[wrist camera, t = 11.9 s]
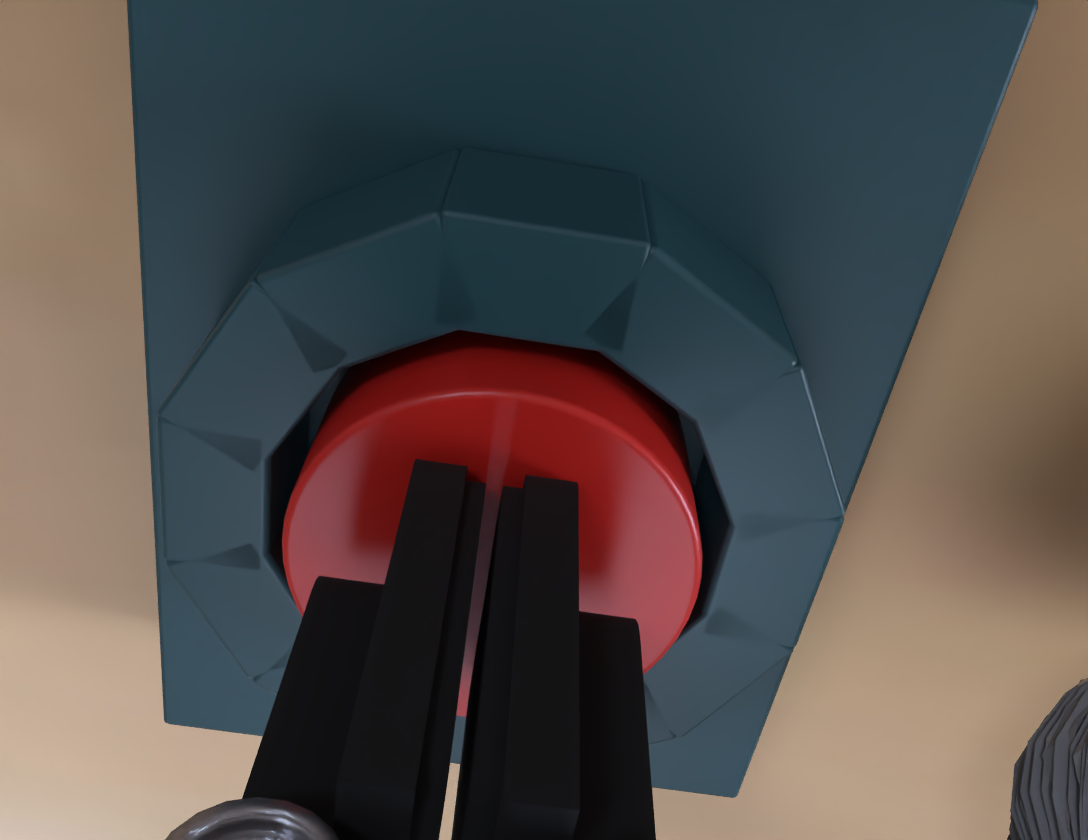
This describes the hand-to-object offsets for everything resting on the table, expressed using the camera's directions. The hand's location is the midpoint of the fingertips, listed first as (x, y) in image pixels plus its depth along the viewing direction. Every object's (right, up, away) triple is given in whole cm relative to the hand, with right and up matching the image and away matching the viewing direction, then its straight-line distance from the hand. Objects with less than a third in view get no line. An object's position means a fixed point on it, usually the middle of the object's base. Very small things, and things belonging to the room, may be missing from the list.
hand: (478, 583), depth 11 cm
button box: (0, +3, +4) cm, 5 cm away
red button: (0, +1, +2) cm, 2 cm away
